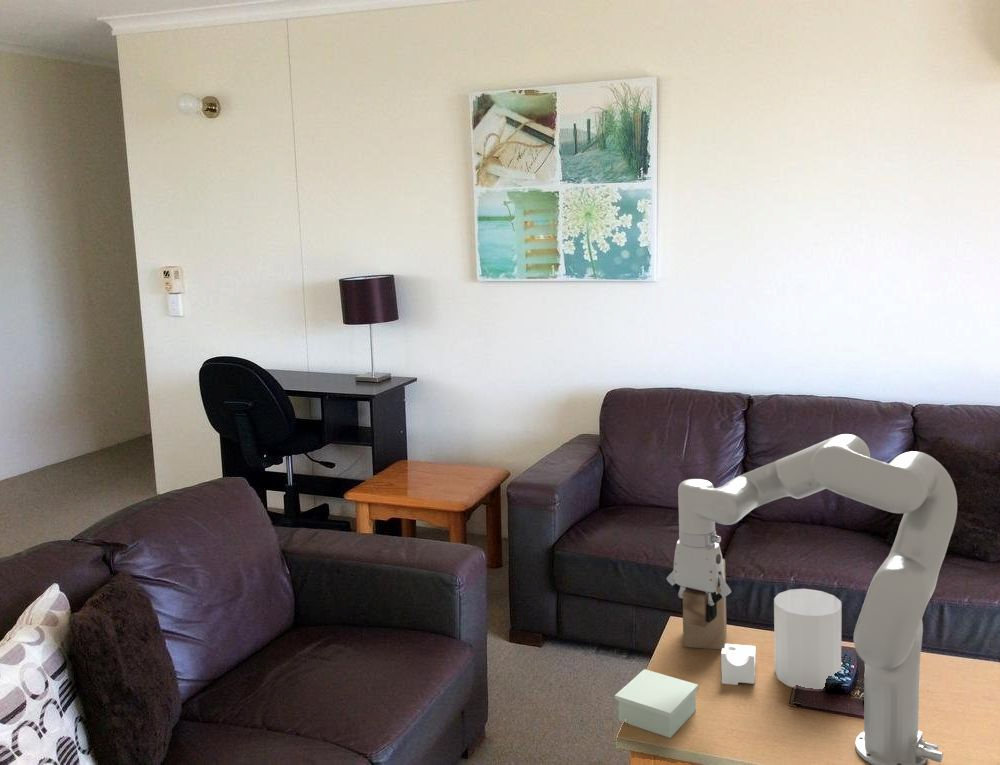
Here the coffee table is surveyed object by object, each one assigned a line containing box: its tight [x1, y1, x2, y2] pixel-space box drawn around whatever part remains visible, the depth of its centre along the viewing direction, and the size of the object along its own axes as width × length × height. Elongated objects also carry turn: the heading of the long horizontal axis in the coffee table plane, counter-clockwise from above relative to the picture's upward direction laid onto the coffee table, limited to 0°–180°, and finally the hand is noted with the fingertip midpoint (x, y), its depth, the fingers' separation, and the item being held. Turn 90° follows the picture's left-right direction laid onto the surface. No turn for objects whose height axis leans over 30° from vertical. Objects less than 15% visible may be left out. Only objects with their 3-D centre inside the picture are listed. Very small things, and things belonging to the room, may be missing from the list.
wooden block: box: [682, 558, 727, 651], centre depth 217 cm, size 10×10×20 cm
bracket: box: [720, 642, 757, 686], centre depth 202 cm, size 13×7×8 cm, turn 162°
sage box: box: [614, 668, 699, 739], centre depth 186 cm, size 13×13×6 cm
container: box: [773, 588, 842, 689], centre depth 197 cm, size 14×14×18 cm
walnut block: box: [682, 588, 714, 628], centre depth 188 cm, size 5×5×7 cm
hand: (698, 616), depth 188 cm, fingers closed on walnut block, 5 cm apart
